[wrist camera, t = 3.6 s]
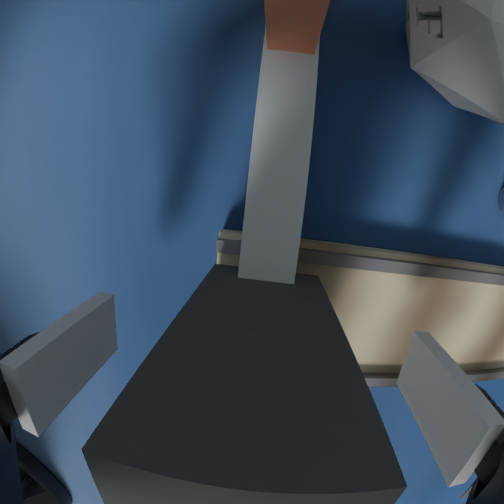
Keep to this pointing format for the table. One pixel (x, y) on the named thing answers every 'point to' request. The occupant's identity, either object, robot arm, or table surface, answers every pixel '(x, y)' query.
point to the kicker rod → (255, 344)
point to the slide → (403, 304)
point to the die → (460, 51)
